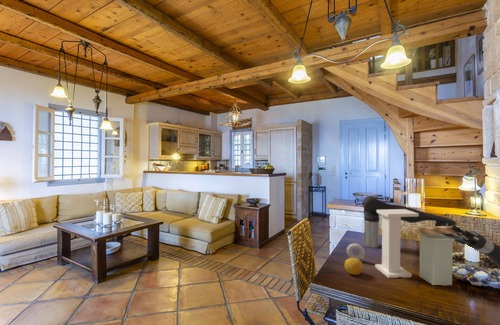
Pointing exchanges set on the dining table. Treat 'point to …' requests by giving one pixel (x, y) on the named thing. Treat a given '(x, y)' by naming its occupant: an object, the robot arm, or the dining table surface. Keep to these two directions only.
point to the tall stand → (392, 242)
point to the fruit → (353, 266)
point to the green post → (436, 259)
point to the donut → (358, 247)
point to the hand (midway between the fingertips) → (449, 225)
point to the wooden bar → (433, 230)
